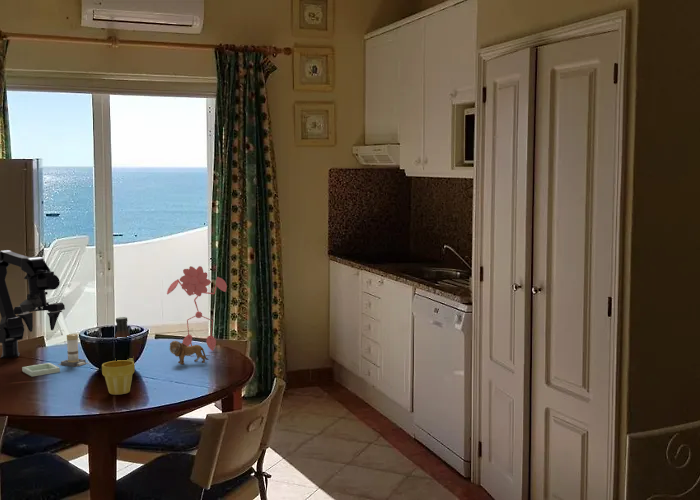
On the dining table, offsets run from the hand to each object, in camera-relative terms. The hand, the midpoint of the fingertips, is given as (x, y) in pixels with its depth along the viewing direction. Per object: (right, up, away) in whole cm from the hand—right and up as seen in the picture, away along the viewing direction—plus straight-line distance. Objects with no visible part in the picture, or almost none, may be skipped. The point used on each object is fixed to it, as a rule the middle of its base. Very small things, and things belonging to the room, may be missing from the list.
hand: (41, 330), depth 308 cm
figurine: (+56, -10, +18) cm, 59 cm away
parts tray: (+5, -14, -15) cm, 21 cm away
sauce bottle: (+35, -14, -13) cm, 40 cm away
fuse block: (+13, -13, -3) cm, 19 cm away
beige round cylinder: (+13, -12, -3) cm, 18 cm away
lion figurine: (+56, -12, -1) cm, 58 cm away
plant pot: (+41, -17, -40) cm, 60 cm away
